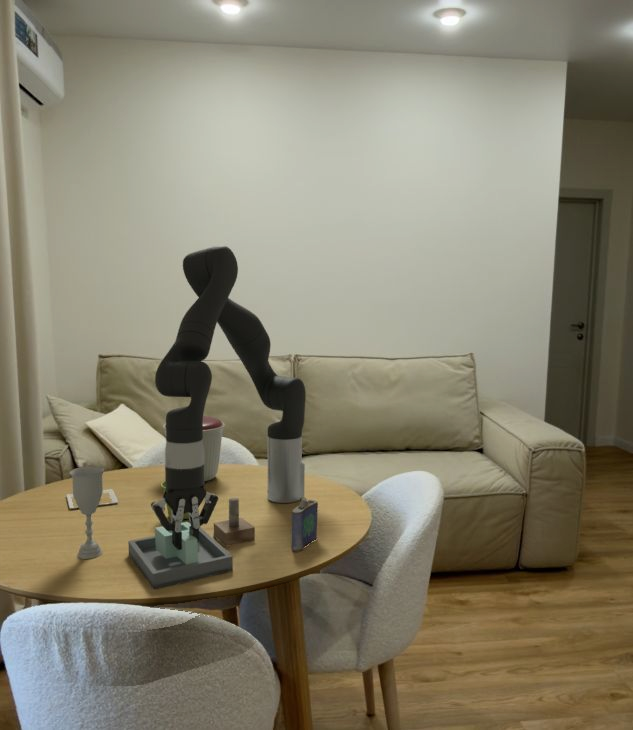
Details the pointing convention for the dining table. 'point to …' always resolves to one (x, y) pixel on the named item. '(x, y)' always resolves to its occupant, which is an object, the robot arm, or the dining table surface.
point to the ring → (168, 550)
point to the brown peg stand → (234, 527)
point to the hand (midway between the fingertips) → (185, 546)
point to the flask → (304, 524)
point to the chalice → (88, 503)
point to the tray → (179, 561)
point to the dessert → (112, 496)
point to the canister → (211, 445)
